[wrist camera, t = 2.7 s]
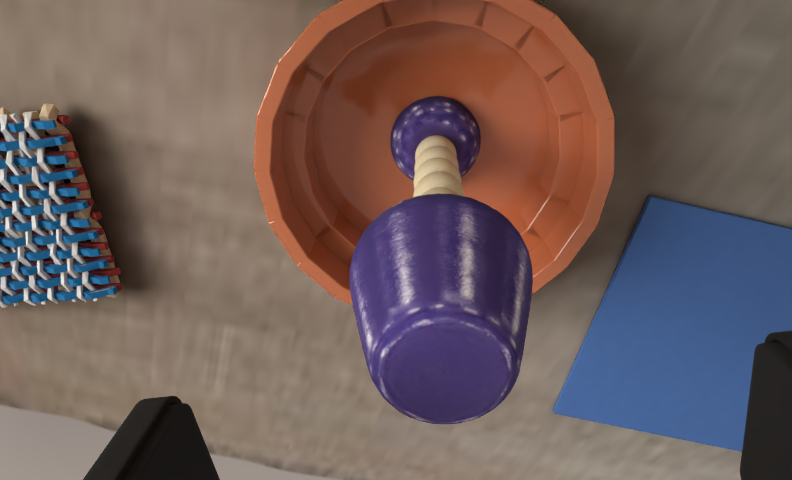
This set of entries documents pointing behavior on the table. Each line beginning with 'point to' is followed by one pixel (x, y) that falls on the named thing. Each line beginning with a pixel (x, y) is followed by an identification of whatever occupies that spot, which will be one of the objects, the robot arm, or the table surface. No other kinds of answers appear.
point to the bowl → (419, 78)
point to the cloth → (683, 325)
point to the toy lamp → (441, 278)
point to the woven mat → (48, 217)
